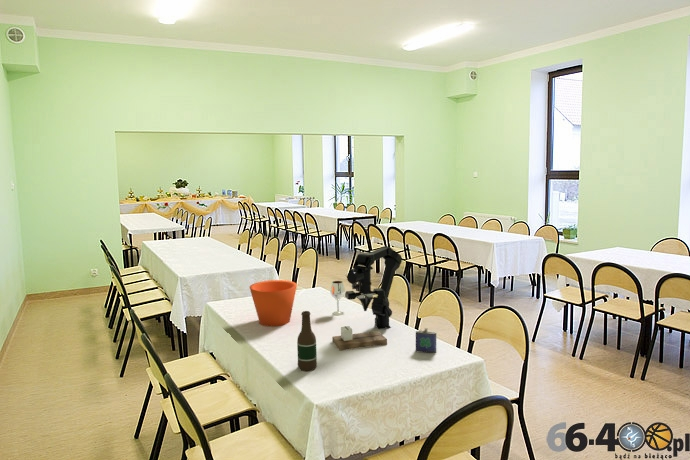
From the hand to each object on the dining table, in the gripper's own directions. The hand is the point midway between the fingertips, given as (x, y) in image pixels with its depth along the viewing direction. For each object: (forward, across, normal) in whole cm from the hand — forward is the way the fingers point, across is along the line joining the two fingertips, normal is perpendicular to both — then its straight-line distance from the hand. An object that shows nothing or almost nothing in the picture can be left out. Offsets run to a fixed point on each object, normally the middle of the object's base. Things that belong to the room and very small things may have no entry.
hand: (365, 310), depth 248 cm
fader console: (+12, +6, +10) cm, 17 cm away
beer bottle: (+12, +36, +30) cm, 48 cm away
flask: (+12, -18, +30) cm, 37 cm away
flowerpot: (+12, +39, -36) cm, 54 cm away
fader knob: (+9, +13, +10) cm, 19 cm away
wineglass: (+12, +3, -38) cm, 40 cm away
